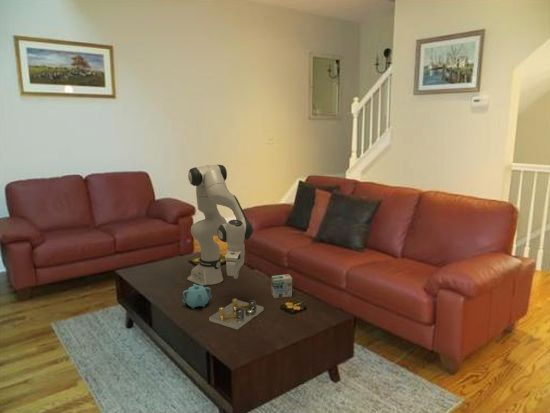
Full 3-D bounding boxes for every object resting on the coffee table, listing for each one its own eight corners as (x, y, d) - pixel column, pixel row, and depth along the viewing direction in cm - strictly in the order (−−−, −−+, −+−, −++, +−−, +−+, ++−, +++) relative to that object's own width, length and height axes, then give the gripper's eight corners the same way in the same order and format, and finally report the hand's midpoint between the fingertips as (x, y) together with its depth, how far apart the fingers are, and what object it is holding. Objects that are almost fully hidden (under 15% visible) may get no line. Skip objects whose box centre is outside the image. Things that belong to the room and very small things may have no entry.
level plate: (209, 321, 205) (208, 314, 205) (236, 303, 225) (236, 297, 224) (238, 329, 197) (238, 322, 196) (264, 310, 216) (264, 304, 215)
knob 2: (233, 311, 210) (233, 301, 209) (231, 308, 214) (231, 298, 213) (257, 308, 214) (257, 298, 213) (255, 304, 217) (255, 295, 216)
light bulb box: (274, 298, 230) (274, 280, 228) (271, 293, 237) (270, 275, 235) (292, 296, 233) (292, 278, 231) (289, 291, 240) (289, 273, 237)
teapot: (196, 298, 232) (194, 279, 230) (217, 303, 225) (215, 283, 223) (180, 308, 221) (178, 288, 219) (202, 312, 214) (200, 292, 212)
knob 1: (219, 320, 201) (219, 310, 200) (218, 317, 205) (218, 306, 203) (244, 316, 205) (244, 306, 203) (243, 313, 208) (242, 303, 207)
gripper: (235, 245, 222) (235, 269, 226) (223, 258, 203) (224, 284, 206) (247, 246, 221) (247, 270, 224) (236, 259, 202) (236, 286, 205)
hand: (236, 277), depth 215 cm, fingers closed
